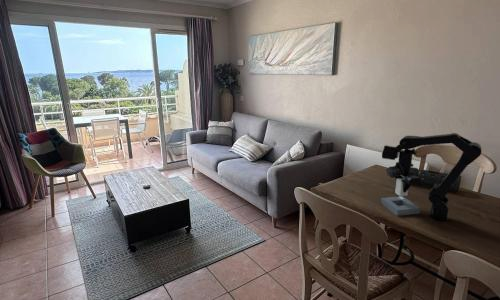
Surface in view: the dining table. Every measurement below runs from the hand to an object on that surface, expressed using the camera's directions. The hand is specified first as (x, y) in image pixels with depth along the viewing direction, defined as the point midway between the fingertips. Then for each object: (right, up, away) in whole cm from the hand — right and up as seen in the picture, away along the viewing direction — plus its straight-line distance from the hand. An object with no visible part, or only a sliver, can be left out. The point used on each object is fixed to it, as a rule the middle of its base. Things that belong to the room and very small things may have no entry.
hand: (401, 190), depth 142 cm
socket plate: (0, -9, +3) cm, 10 cm away
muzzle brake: (+32, -2, +27) cm, 42 cm away
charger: (0, -2, 0) cm, 2 cm away
